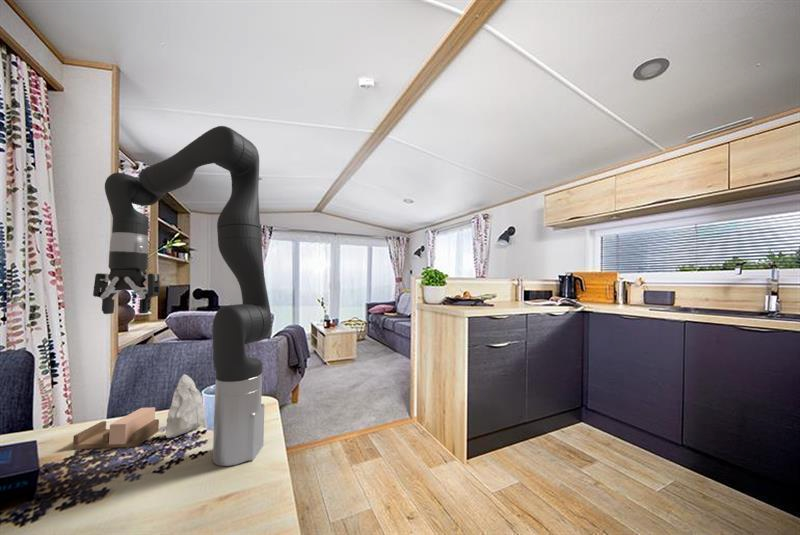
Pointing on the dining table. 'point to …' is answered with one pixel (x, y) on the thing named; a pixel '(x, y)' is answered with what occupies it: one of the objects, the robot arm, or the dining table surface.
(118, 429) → the pink rectangular block
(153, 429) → the rack
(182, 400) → the stone tool
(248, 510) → the dining table surface
